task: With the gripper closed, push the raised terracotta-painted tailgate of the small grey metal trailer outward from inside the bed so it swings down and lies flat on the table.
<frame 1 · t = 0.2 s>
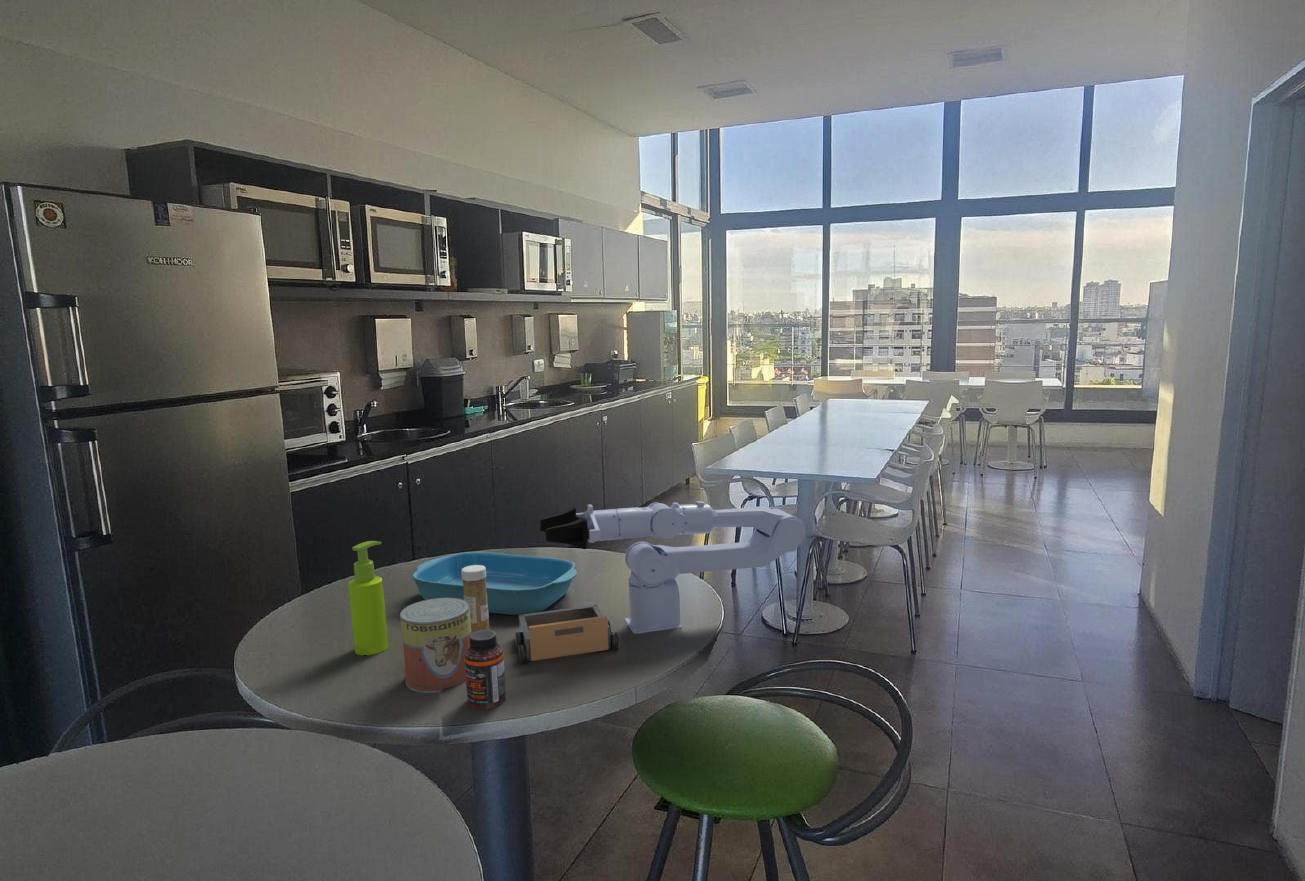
hand: (543, 530, 139), 21 cm above the table, tool horizontal, fingers open, 7 cm apart
supplement bottle: (487, 704, 118), on the table
trailer: (564, 644, 140), on the table
casserole dish: (497, 599, 166), on the table
canned food: (440, 678, 128), on the table
sprinkles bottle: (478, 636, 145), on the table
tailgate: (569, 638, 133), point 4 cm above the table, hinge at 0.0°
soap dispenser: (374, 648, 141), on the table
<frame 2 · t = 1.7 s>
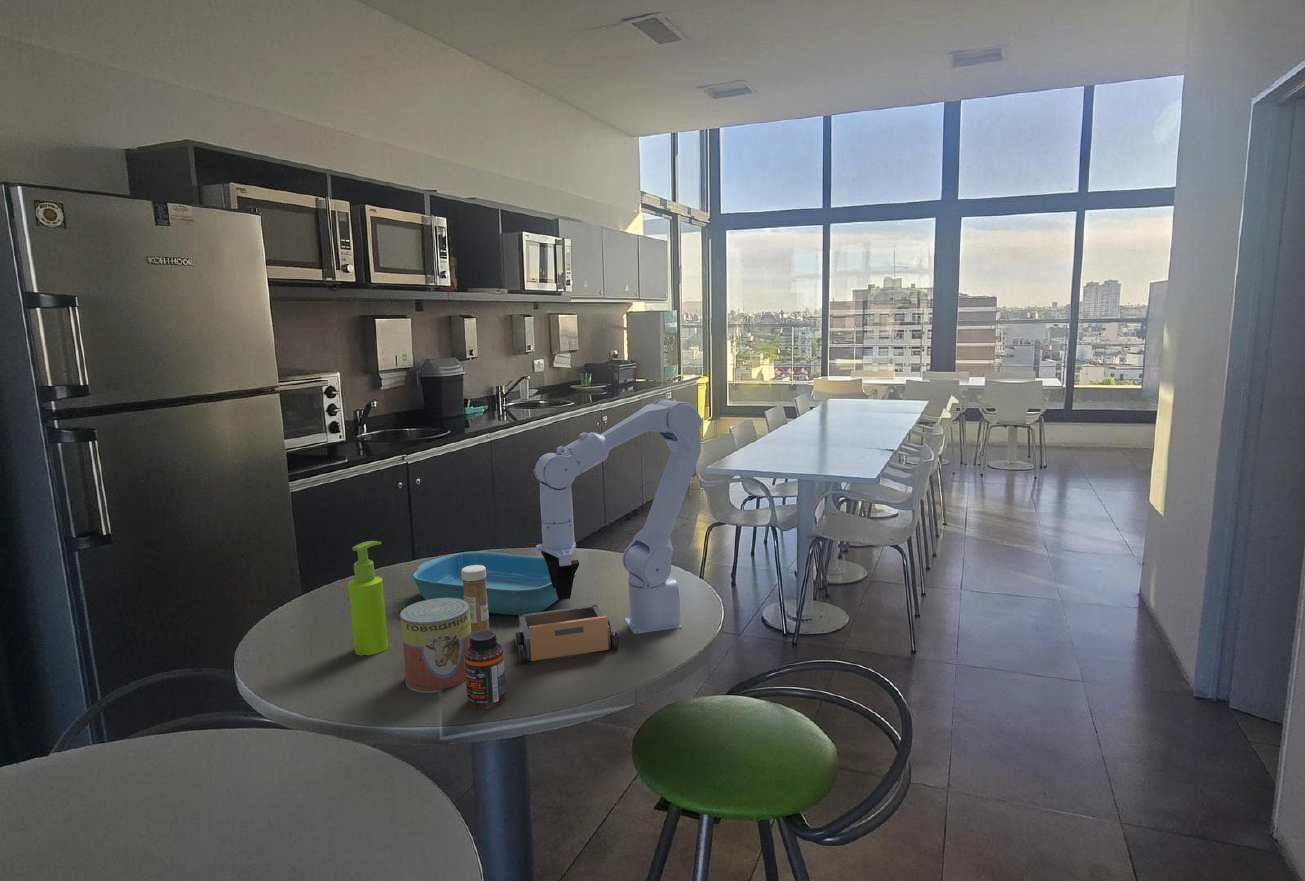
hand: (561, 592, 138), 10 cm above the table, tool pointing down, fingers open, 6 cm apart
nothing on the table moved.
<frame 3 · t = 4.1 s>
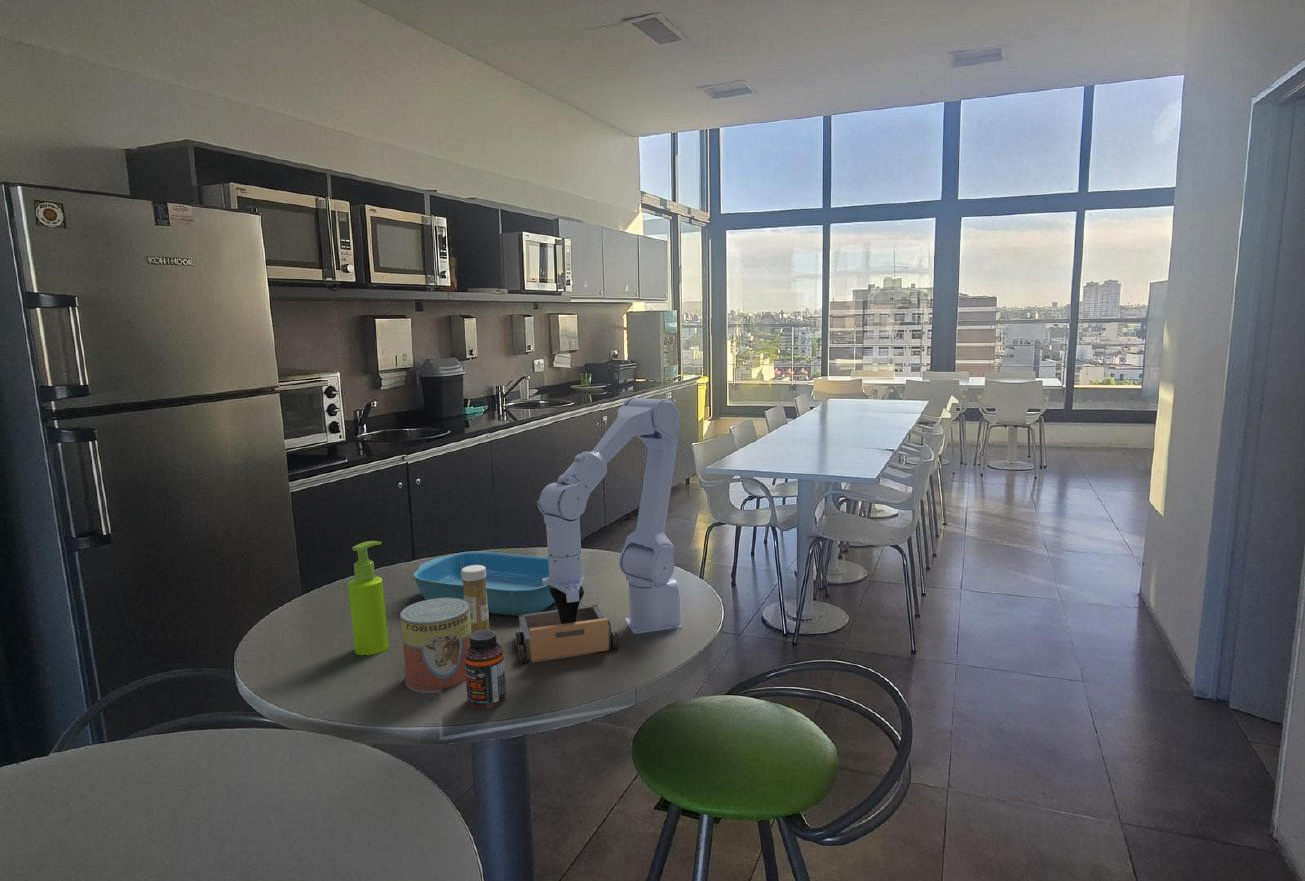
hand: (568, 627, 132), 6 cm above the table, tool pointing down, fingers closed, pressing on tailgate
tailgate: (569, 639, 132), point 4 cm above the table, hinge at 8.9°, touching gripper
everything else where it was.
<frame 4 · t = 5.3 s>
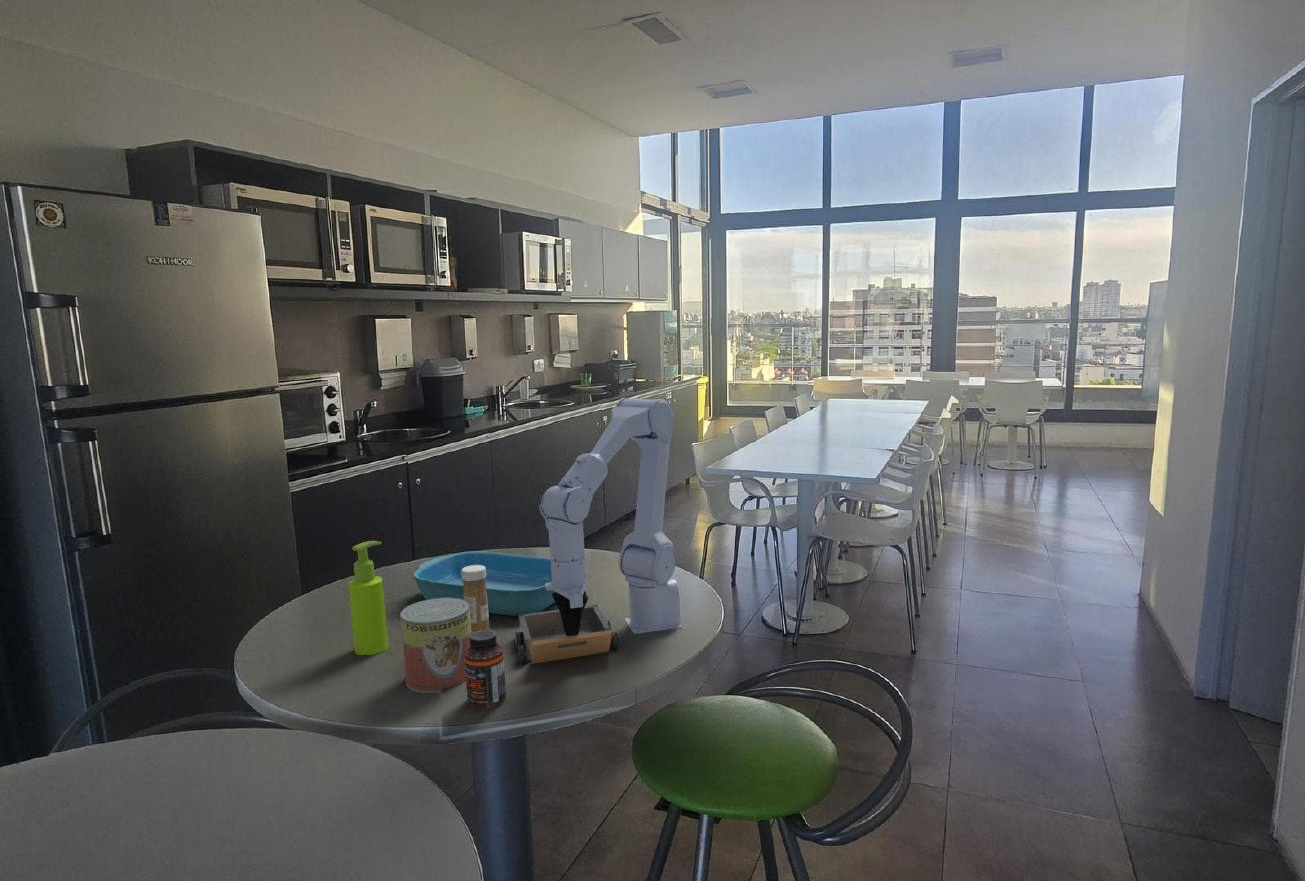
hand: (571, 634, 129), 6 cm above the table, tool pointing down, fingers closed
tailgate: (571, 646, 131), point 3 cm above the table, hinge at 37.8°
everything else where it was.
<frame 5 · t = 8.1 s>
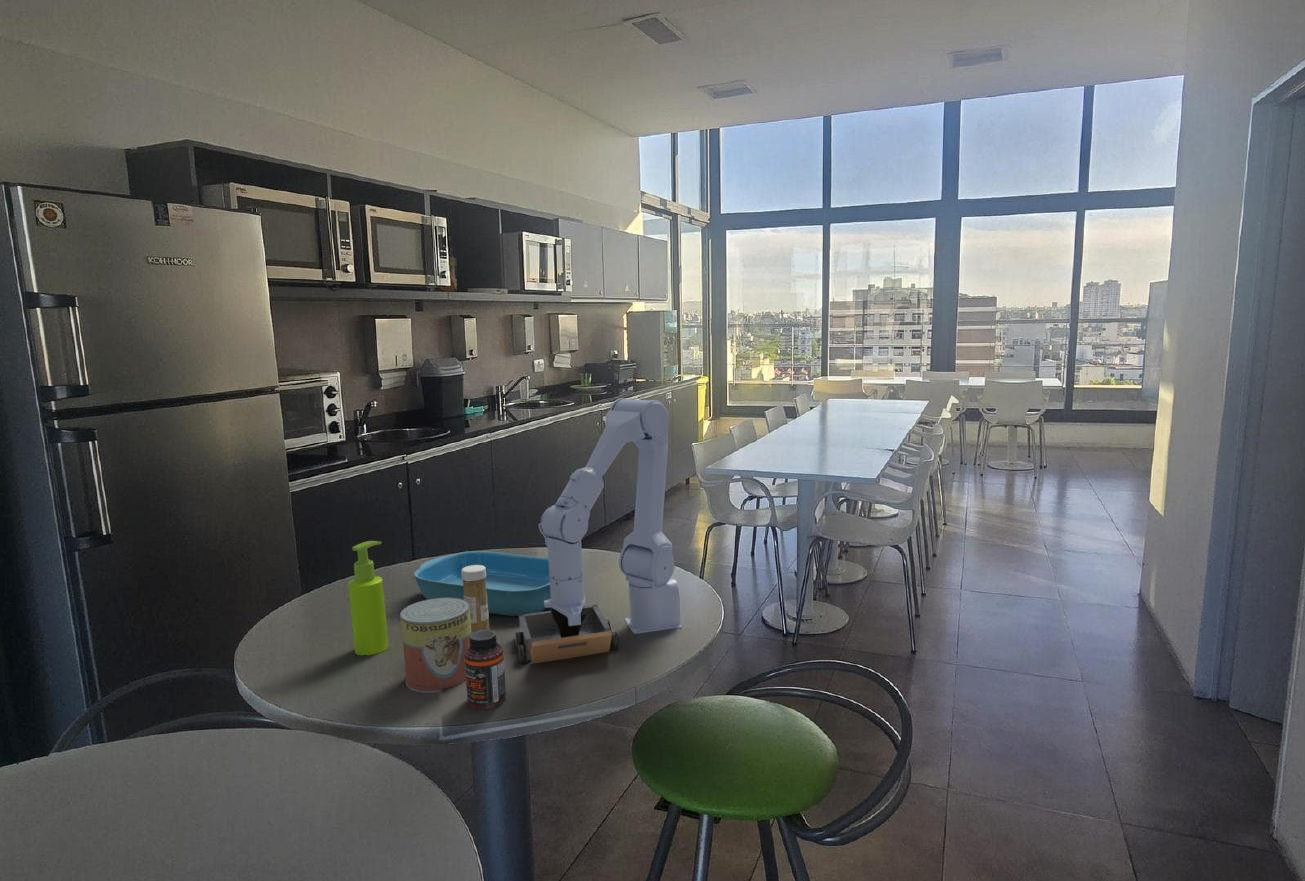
hand: (570, 649, 132), 2 cm above the table, tool pointing down, fingers closed, pressing on tailgate
tailgate: (571, 647, 131), point 3 cm above the table, hinge at 39.3°, touching gripper
everything else where it was.
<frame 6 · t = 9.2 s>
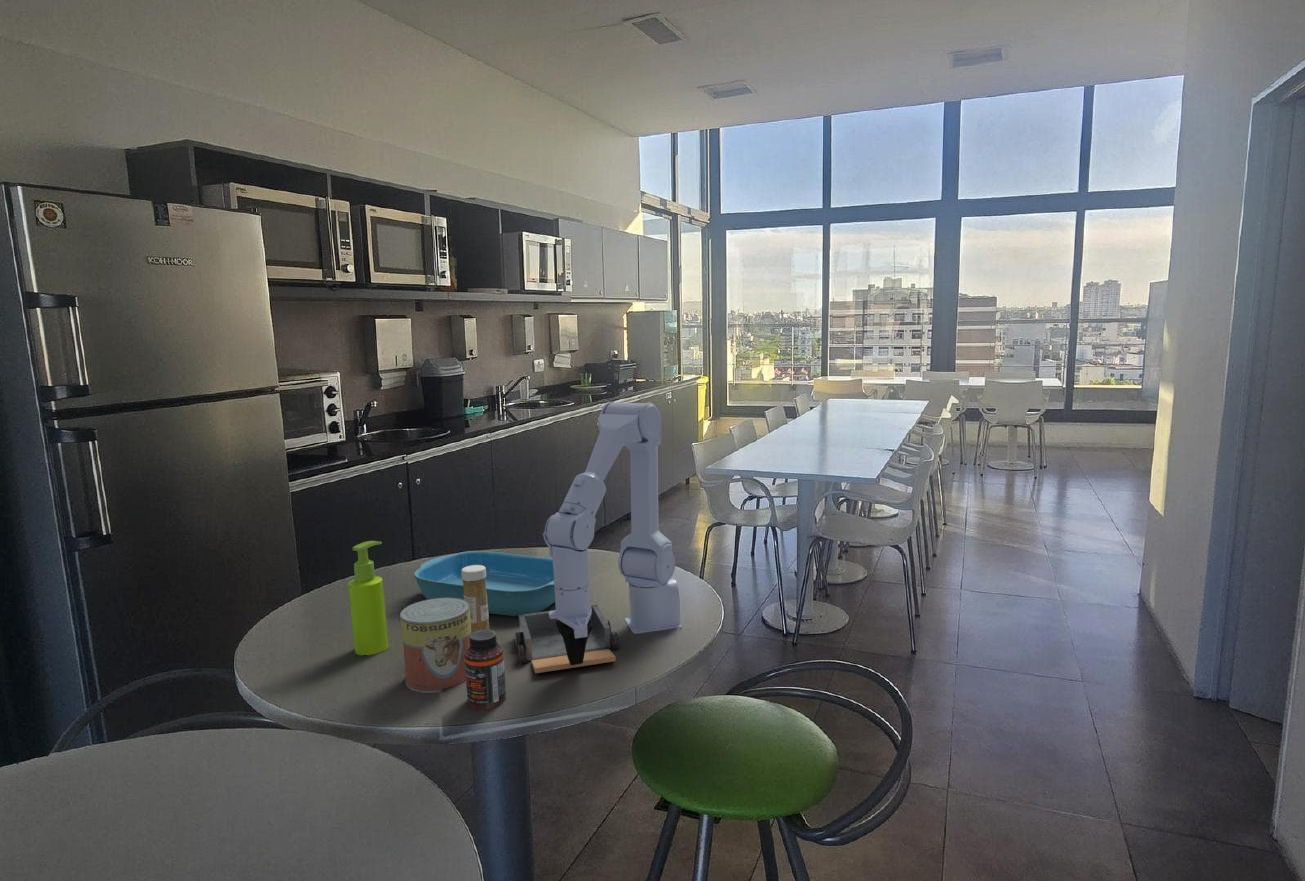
hand: (575, 662, 127), 2 cm above the table, tool pointing down, fingers closed
tailgate: (573, 660, 130), point 1 cm above the table, hinge at 79.0°
everything else where it was.
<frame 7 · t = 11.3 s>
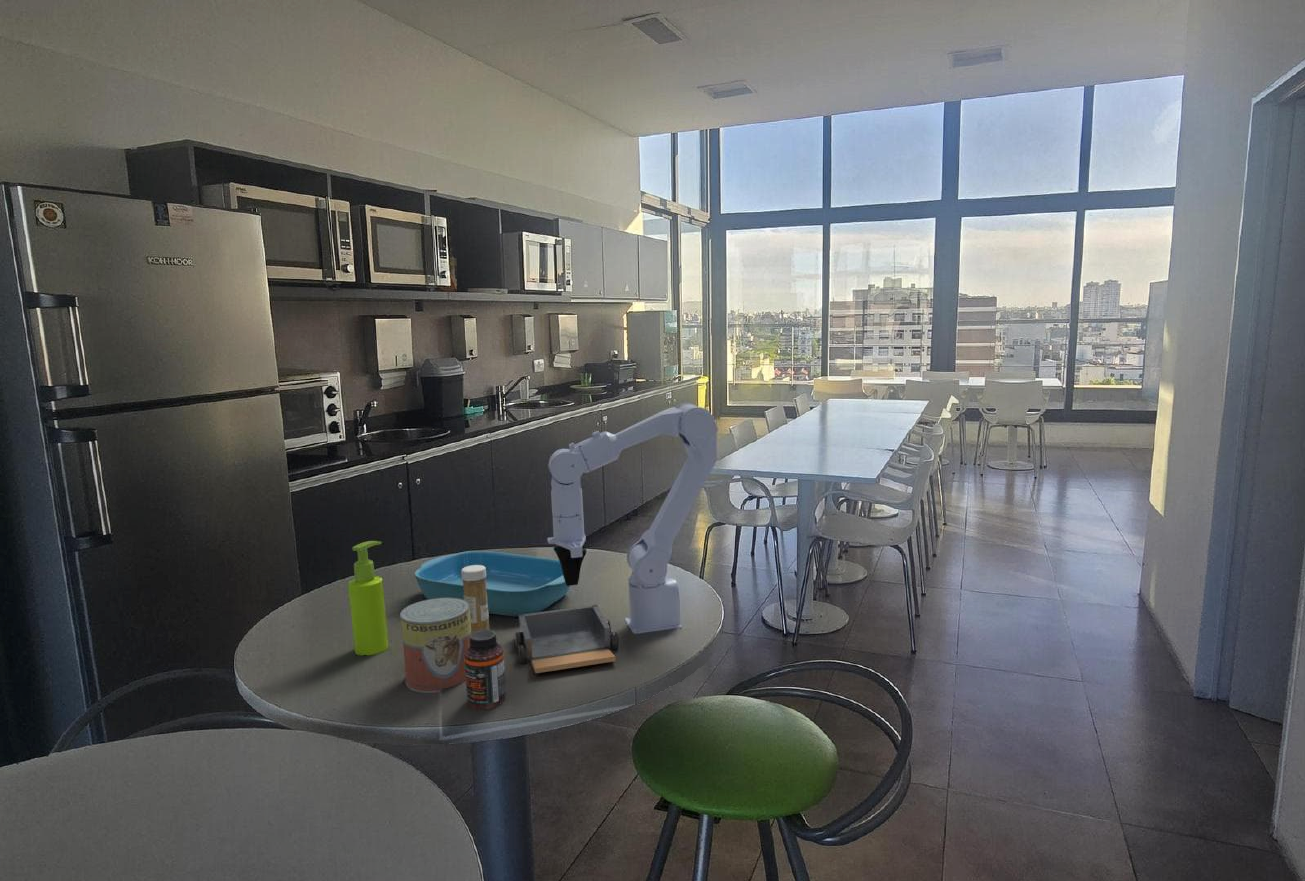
hand: (571, 584, 143), 10 cm above the table, tool pointing down, fingers closed
nothing on the table moved.
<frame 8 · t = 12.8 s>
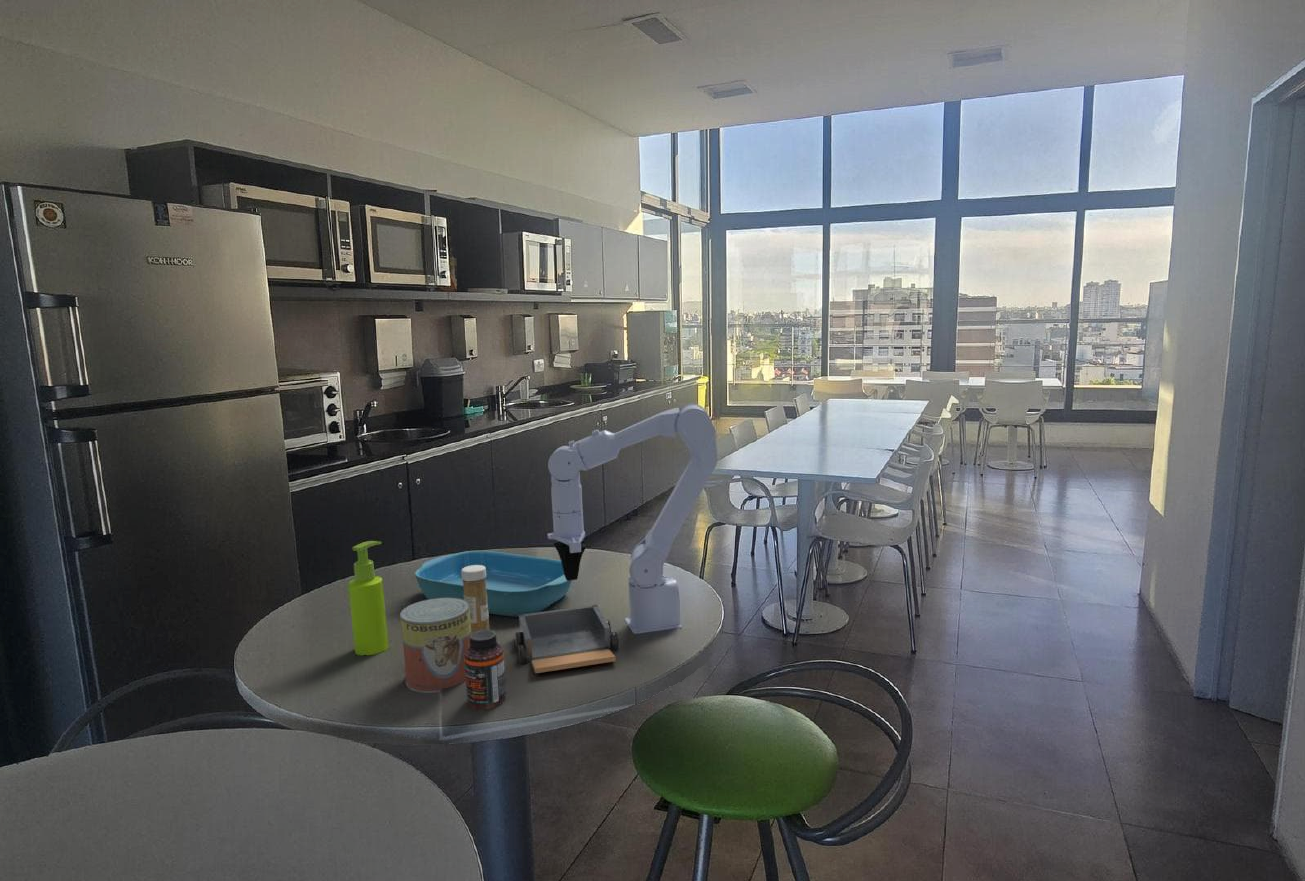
hand: (571, 579, 146), 10 cm above the table, tool pointing down, fingers closed
nothing on the table moved.
at the end: tailgate at +79° (first picture: +0°); the gripper is holding nothing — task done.
